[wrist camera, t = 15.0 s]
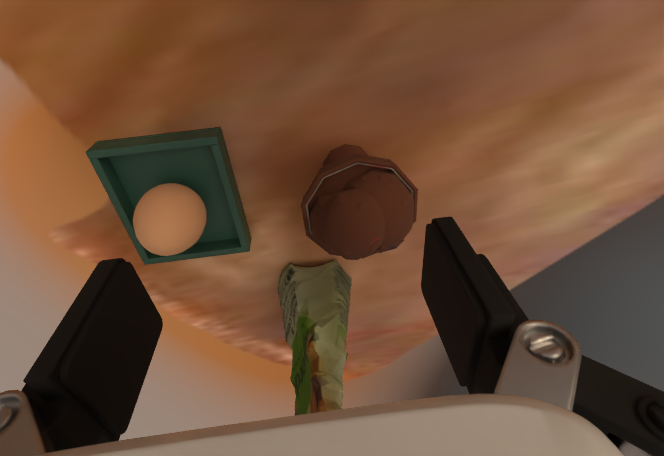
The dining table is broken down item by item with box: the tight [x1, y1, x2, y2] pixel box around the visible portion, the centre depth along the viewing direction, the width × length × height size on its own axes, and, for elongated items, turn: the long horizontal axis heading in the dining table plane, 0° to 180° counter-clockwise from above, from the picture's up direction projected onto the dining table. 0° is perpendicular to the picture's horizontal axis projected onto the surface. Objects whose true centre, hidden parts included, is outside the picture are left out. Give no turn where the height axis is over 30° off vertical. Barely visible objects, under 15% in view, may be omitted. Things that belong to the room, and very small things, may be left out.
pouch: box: [278, 260, 351, 416], centre depth 41 cm, size 11×12×25 cm
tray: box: [86, 127, 251, 265], centre depth 40 cm, size 15×13×3 cm
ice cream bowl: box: [301, 144, 418, 260], centre depth 35 cm, size 11×11×15 cm
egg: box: [133, 183, 207, 256], centre depth 37 cm, size 7×7×9 cm
